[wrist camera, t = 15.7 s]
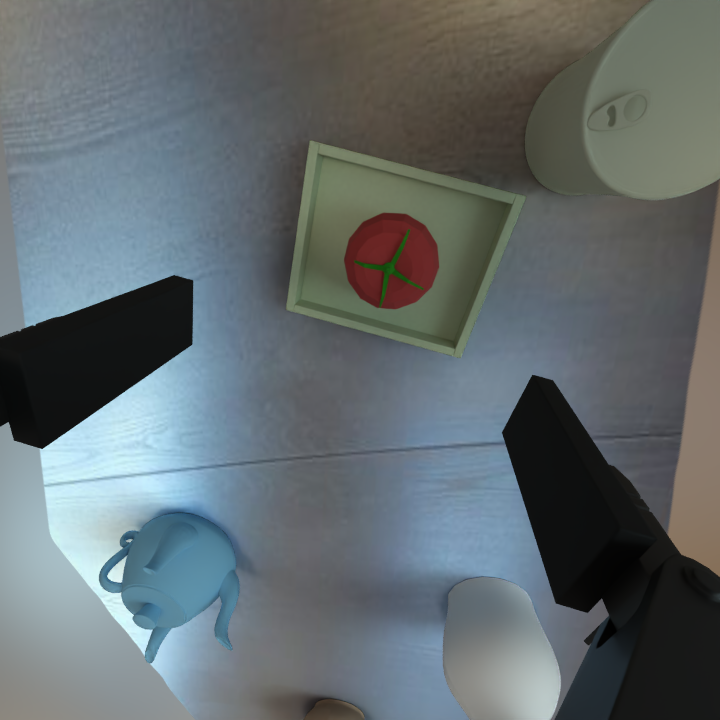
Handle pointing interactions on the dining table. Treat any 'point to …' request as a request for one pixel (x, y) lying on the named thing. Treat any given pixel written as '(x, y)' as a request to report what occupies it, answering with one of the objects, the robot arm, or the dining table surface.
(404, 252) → the tomato
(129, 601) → the teapot
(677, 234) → the dining table surface
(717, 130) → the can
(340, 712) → the bowl
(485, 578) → the vase
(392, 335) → the tray
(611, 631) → the robot arm
